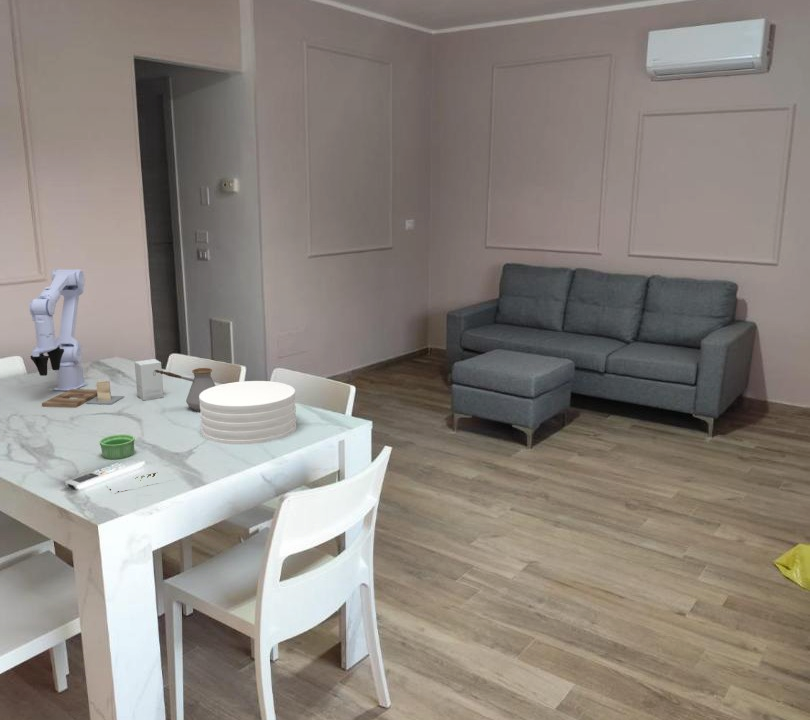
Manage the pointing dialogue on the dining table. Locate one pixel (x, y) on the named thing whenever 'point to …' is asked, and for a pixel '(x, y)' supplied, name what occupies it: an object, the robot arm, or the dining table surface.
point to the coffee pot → (195, 385)
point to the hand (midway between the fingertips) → (49, 372)
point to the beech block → (103, 391)
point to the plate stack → (247, 412)
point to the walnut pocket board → (65, 400)
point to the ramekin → (117, 446)
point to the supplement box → (149, 379)
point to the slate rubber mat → (113, 400)
